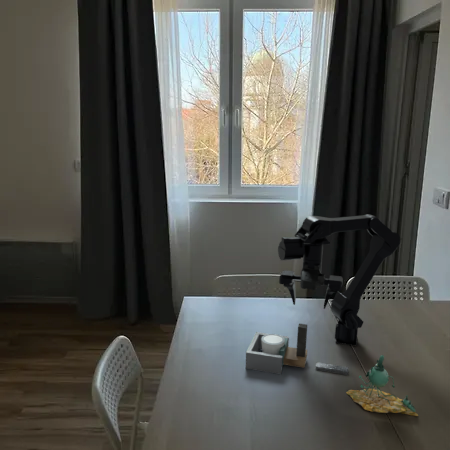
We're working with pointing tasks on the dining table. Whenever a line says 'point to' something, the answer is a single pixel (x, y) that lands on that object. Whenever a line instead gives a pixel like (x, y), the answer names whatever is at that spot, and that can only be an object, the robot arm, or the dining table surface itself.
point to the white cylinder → (272, 343)
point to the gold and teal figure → (380, 393)
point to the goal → (262, 357)
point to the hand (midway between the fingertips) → (309, 306)
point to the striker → (296, 349)
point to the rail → (332, 368)
